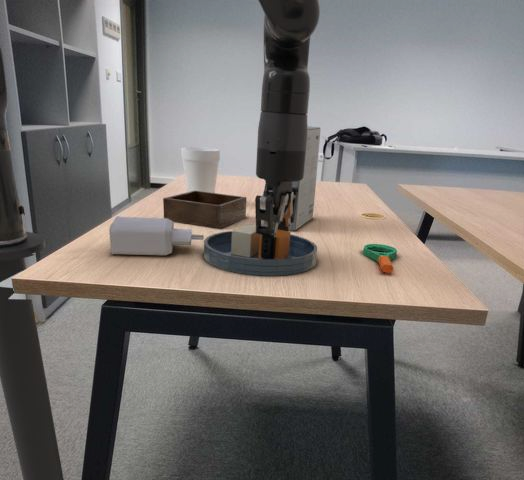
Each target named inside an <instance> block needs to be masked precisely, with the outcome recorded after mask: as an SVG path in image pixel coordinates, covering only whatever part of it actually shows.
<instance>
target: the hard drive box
mask: <svg viewBox="0 0 524 480" xmlns="http://www.w3.org/2000/svg"><path fill="white" fill-rule="evenodd" d="M320 141H321V127H320V126H309V125H308V133H307V144H306V155H305V166H304V177H303V179H302V180H300V181H295V182H292V187H298V190H299V191H298V197H297V204H296V211H295V218H294V222H293V223H291V227H290V229H289V230H288V231H295V232H296V231H297V230H298V229H300V228H301V227H302V226H303V225H305V224H306V223H308V222H309V221H310V220H311V219H313V217H314V211H315V210H314V209H315V198H316V189H317V188H316V185H317V176H318V175H317V174H318V163H319V150H320ZM264 181H265V180H264ZM264 183H265V184H266V181H265V182H264ZM265 184H264V185H265ZM273 223H274V222H273ZM266 227H268V223H267V226H266Z"/></svg>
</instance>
